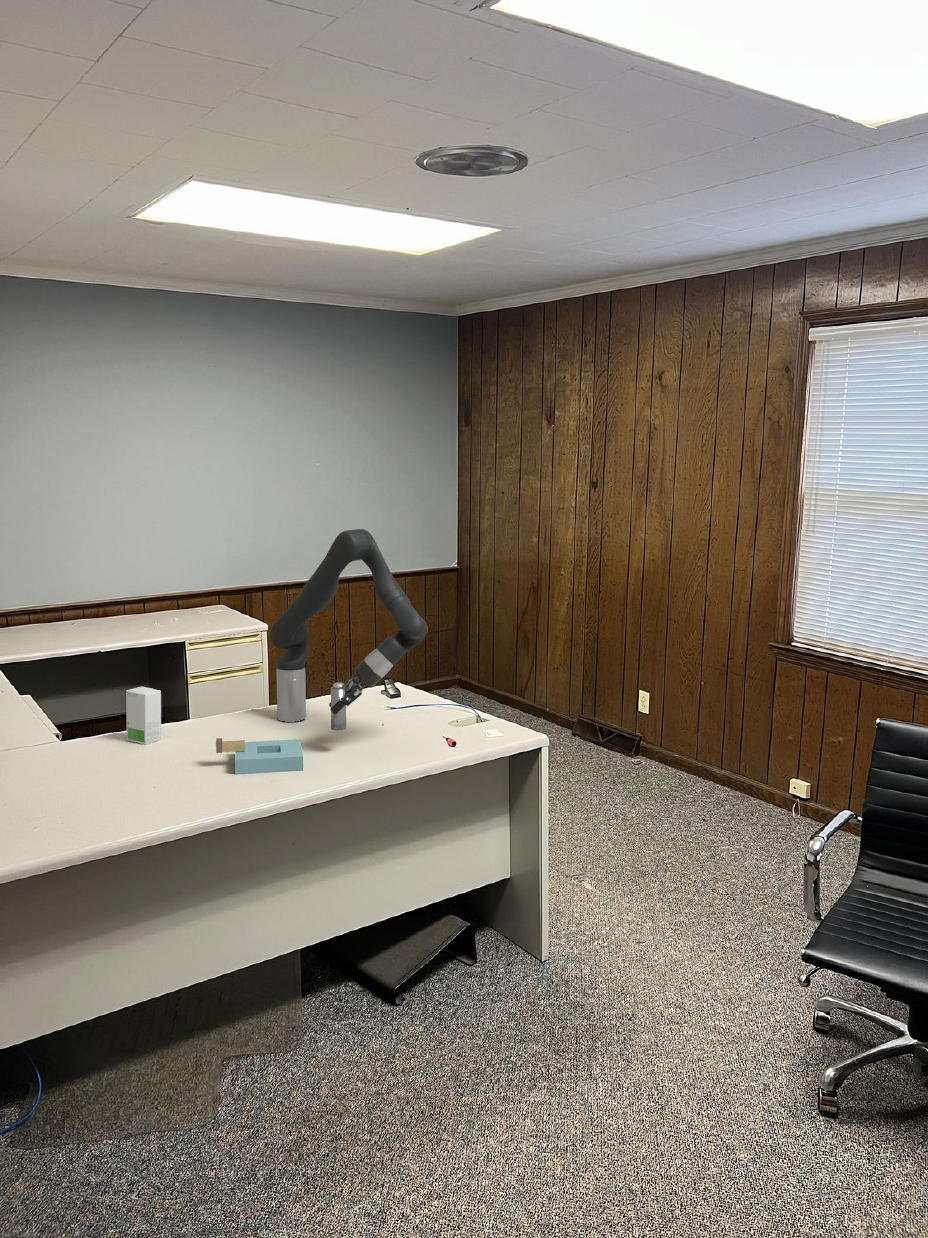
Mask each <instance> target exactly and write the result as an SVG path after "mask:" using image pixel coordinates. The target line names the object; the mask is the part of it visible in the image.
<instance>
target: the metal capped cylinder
mask: <svg viewBox="0 0 928 1238" xmlns="http://www.w3.org/2000/svg"><path fill="white" fill-rule="evenodd" d="M344 684H345V683H344V682H334V683H333V685H332V686H331V687H330V702H331V707H330V709H331V708H332V707H333V706H334V705H335V704H336V703H337V702H338V701H339V700H340V698H341V697H342V696H343V695H344V691H345V690H346V687H344ZM330 729H331V730H333V731H344V730H346V729H347V705H346V706H345V705H344V707H343V708H342V709H341V710H340V711H339V712H338V713H337V714H334V713H332V712H331V711H330Z"/></svg>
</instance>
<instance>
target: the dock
mask: <svg viewBox="0 0 928 1238" xmlns="http://www.w3.org/2000/svg"><path fill="white" fill-rule="evenodd" d="M301 741H302V740H301V739H298V738H297V739H280V740H279V739H278V740H257V741H245V751H238V752H235V754H234V755H235V756H234V770H235V771H234V772H235V775H247V774H263V773H264V774H265V773H281V772H301V771H304V754H303V748H302V742H301Z"/></svg>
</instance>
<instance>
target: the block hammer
mask: <svg viewBox="0 0 928 1238" xmlns="http://www.w3.org/2000/svg"><path fill="white" fill-rule="evenodd" d="M245 742H246V741H245V740H244V739H243V740H241V739H240V740H239V739H238V740H225V741H224V740H223V737H220V738H219V737H216V739H215V753H216V754H222V753H234V752H238V751H245Z"/></svg>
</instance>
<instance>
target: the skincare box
mask: <svg viewBox="0 0 928 1238" xmlns="http://www.w3.org/2000/svg"><path fill="white" fill-rule="evenodd" d="M125 699H126V701H125V705H126V706H125V708H126V709H125V711H126V741H128V742H132V743H136V742H138V743H137V744H139V745H144V746H146V745H149V743H150V744H152V743H151V742H153V743H156V742H158V741H157V740H159V741H161V740H162V691H161V690H159V689H154V688H153V687H152V688H151V687H146V686H137V687H135V688H130V689H127V690H125ZM160 739H161V740H160ZM155 741H156V742H155Z"/></svg>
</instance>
